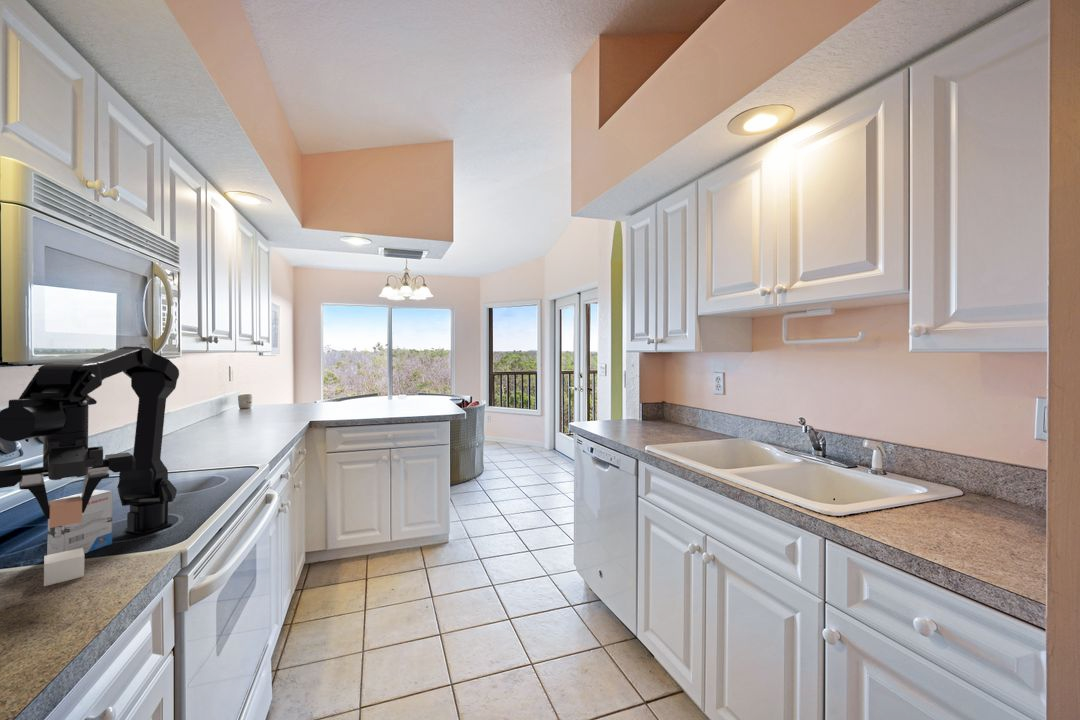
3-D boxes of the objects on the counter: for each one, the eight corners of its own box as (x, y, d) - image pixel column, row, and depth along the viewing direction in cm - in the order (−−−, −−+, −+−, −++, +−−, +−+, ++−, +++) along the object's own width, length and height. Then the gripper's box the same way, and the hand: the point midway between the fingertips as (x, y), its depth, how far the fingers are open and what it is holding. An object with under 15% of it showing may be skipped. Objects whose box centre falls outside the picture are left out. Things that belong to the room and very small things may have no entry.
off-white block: (82, 568, 86) (82, 547, 86) (84, 577, 83) (84, 555, 83) (43, 577, 82) (44, 555, 82) (43, 586, 79) (44, 564, 79)
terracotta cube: (79, 516, 85) (80, 496, 85) (81, 522, 83) (82, 500, 83) (48, 522, 82) (49, 500, 82) (49, 528, 80) (50, 505, 80)
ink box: (95, 541, 98) (96, 488, 98) (113, 544, 97) (114, 490, 97) (45, 559, 89) (46, 500, 89) (64, 561, 88) (65, 502, 88)
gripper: (-17, 444, 70) (-18, 543, 70) (141, 430, 84) (140, 512, 85) (-14, 435, 77) (-15, 525, 77) (131, 424, 92) (130, 500, 92)
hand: (65, 515), depth 83 cm, fingers closed on terracotta cube, 4 cm apart
